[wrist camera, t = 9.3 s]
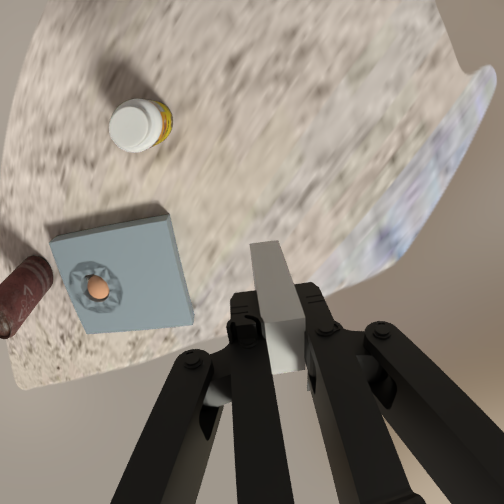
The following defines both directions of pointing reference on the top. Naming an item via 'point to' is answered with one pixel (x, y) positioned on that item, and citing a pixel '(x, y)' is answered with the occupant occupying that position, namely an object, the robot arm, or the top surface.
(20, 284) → the can
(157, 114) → the supplement bottle
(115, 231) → the board
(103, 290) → the ball
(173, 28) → the top surface
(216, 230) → the top surface
